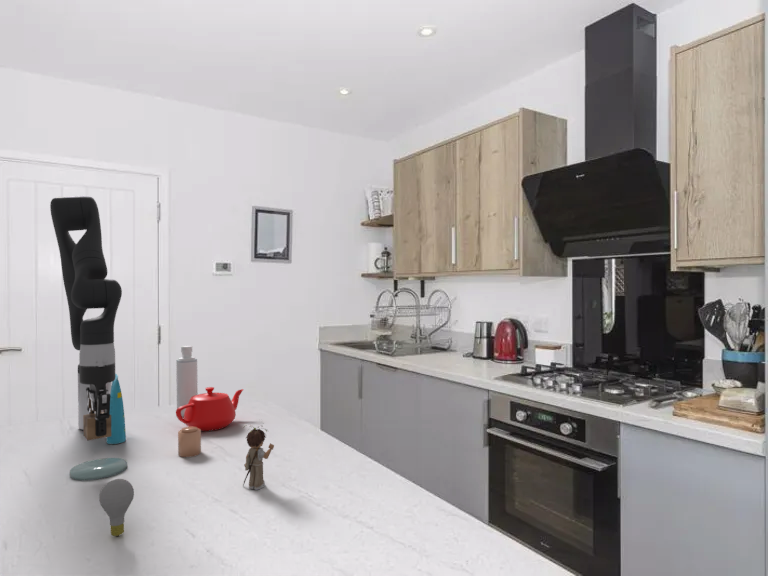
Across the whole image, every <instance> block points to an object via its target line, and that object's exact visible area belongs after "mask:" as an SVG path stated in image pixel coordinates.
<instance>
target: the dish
mask: <svg viewBox="0 0 768 576" xmlns="http://www.w3.org/2000/svg"><path fill="white" fill-rule="evenodd" d="M126 469H128V461H127V460H126V459H125V458H119V457H107V458H106V457H105V458H97V459H92V460H89V461H84V462H81V463H78V464H76V465H75V466H72V467H71V469H70V470H69V477H70V478H71V479H73V480H76V481H93V480H95V481H96V480H100V479H106V478H109V477H112V476H116V475H118V474H120V473H122V472H124V471H126Z"/></svg>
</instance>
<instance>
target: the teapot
mask: <svg viewBox="0 0 768 576" xmlns="http://www.w3.org/2000/svg"><path fill="white" fill-rule="evenodd" d="M214 390H215V387H213V386H209V387H205V391H206V392H205V393H200V394H198V395H195V396H193V397H191V399H190V401H189V403H188V404H187V405H184V406H181V407H179V408H178V409H177V408H176V410H175V416H176V418H177V419H178V421H180V422H181V423H183V424H185V425H186V427H197V428H199V429H201V432H210V431H211V430H212V431H217V430H221V429H224V428H226V427H227V426H229V425H230V424H232V422H234V420H235V419H236V416H237V415H236V410H237V408H238V406H239V400H240V395H241V394H242V392H243V391H244V389H243V388H242V389H238V390H236V391H235V393H234V394H233V397H232V399H231V398H230V396H229V394H228V393H225V392H224V393H223V392H213V391H214ZM185 408H186V409H185ZM183 409H185V413H184V417H182V416H181V411H182V410H183ZM209 430H210V431H209ZM212 431H211V432H212Z"/></svg>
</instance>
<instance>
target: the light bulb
mask: <svg viewBox="0 0 768 576" xmlns="http://www.w3.org/2000/svg"><path fill="white" fill-rule="evenodd" d="M134 490H135V489H134V487H133V485H132V483H131V482H130V481H128V480H127V479H124V478H116V479H112V480H109V482H107V483H105V485H104V486H103V487H102V489H101V490H100V492H99V495H98V496H99V497H98V499H99V505H100V507H101V508H102V509H103V511H104V512H105V513H106V514H107V516H108V519H109V526H110V535H111V536H113V537H116V538H117V537H120V536H121V535H123V534H124V533H125V515H126V513H127V511H128V509H129V508H130V506H131V504H132V502H133V499H134V496H135V491H134Z"/></svg>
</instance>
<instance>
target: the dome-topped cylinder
mask: <svg viewBox="0 0 768 576" xmlns="http://www.w3.org/2000/svg"><path fill="white" fill-rule="evenodd" d="M177 442H178V443H177V447H178V448H177V449H178V450H177V452H178V454H177V455H178V457H181V458H190V457H191V458H192V457H196V456H199V455H200V454H201V452H202V431H201V429H199V428H197V427H188V426H185V427H183V428H181V429H180V430H178V432H177Z"/></svg>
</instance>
